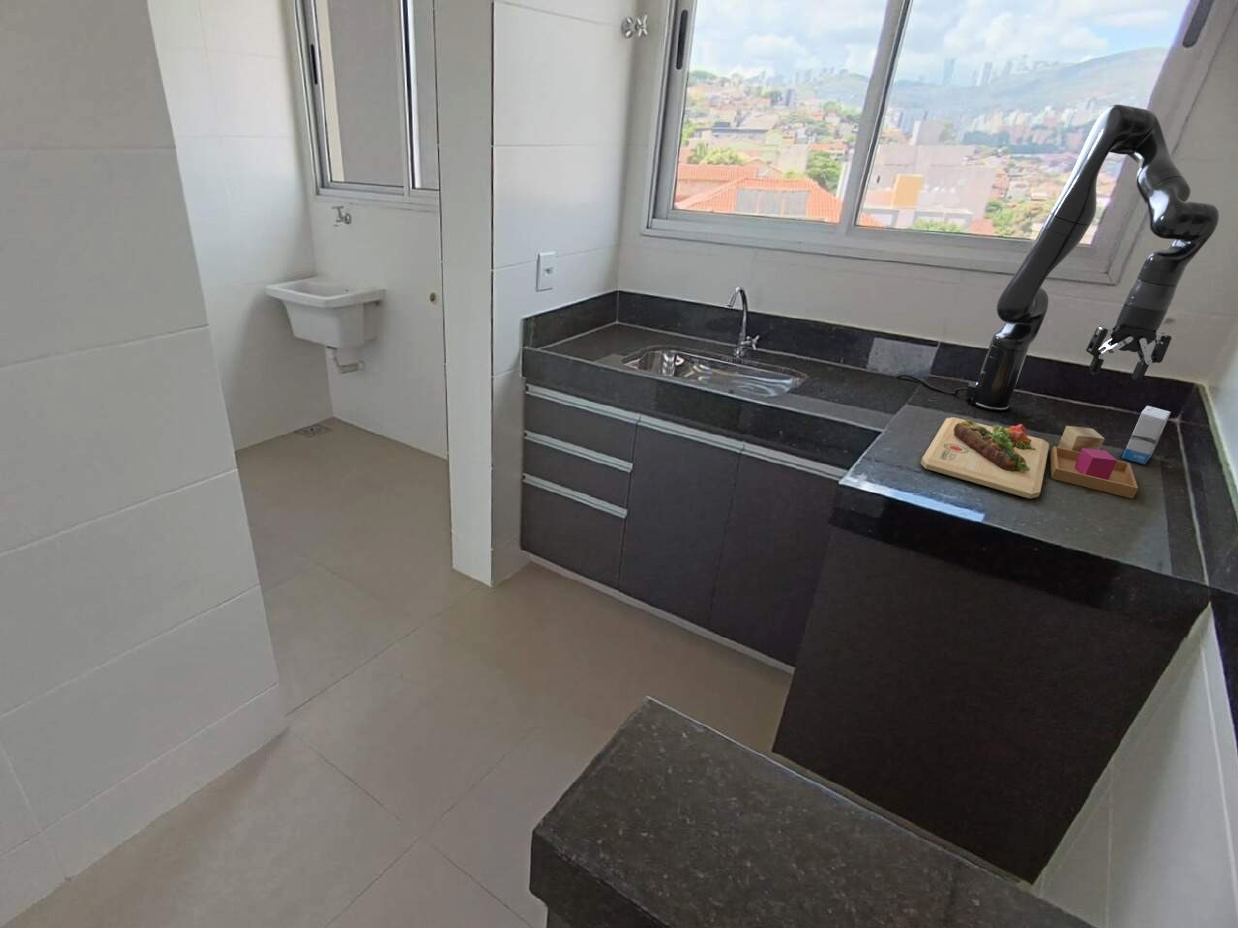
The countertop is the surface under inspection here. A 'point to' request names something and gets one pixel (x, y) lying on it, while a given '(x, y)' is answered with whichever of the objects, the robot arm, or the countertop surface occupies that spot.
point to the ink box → (1146, 434)
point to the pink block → (1095, 463)
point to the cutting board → (989, 456)
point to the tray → (1117, 484)
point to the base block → (1080, 439)
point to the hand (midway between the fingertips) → (1113, 376)
